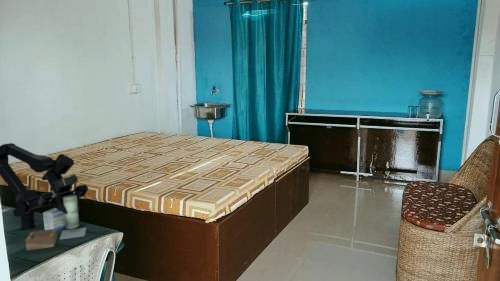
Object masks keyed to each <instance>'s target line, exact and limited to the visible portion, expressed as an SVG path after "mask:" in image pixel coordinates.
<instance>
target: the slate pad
mask: <svg viewBox="0 0 500 281" xmlns="http://www.w3.org/2000/svg"><path fill="white" fill-rule="evenodd" d="M86 231H87V227H81V228H80V227H77V228H73V229H65V230H62V232H61V234H60V235H59V236H60V237H59V240H66V239H73V238H74V239H75V238H80V237H85V235H86V233H87V232H86Z"/></svg>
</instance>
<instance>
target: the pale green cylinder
mask: <svg viewBox="0 0 500 281" xmlns="http://www.w3.org/2000/svg"><path fill="white" fill-rule="evenodd" d="M62 201H63V202H62V203H63V205H64V207H65V208H66V210H67V214H65V224H66V226H65V229H66V230H71V229H78V228H80V215H79V210H78V204H77V196H76V195H69V196H65V197H63V198H62Z"/></svg>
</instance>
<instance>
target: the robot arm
mask: <svg viewBox="0 0 500 281" xmlns="http://www.w3.org/2000/svg"><path fill="white" fill-rule="evenodd" d="M9 156H10V157H13V158H15V159H17V160H18V161H21V162H23V163H25V164H27V165H28V166H29V168H30V169H31V170H33V171H34V172H36V173H39V174H40V173H43V176H41V180H42V181H47V183H48V184H49V187H50V188H49V190H50V191H48V192H43V193H40V194H41V195H38V193H37V191H36V190H35V189H32V190H29V189H28V188H27V187H26V186H25V184H24V183H23V182H22V180H21V179H20V178H19V176H18V175H17V173H16V172H15V171H14V169H13V168H12V167H11V165H10V164H9ZM74 161H75V160H74V159H73V158H72V157H70V156H67V155H65V154H64V153H61V154H59V155H58V156H57V158H56V159H53V158H52V157H50V156H47V155H42V154H41V155H40V154H35V153H33V152H31V151H30V150H26V149H25V148H23V147H20V146H18V145H16V144H15V143H13V142H9V143H3V144H2V145H0V177H1V178H2V179H3V181H4V182H5V184H7V186H8V188H10V190H11V192H12V193H13V195H14V196H15V204H16V207H15V209H13V211H12V213H13V216H14V217H19V225H20V226H19V227H18V229H17V230H18V231H22V230H29V229H30V230H31V229H36V228H37V226H38V225H39V222H36V214H35V213H36V212H38V211H39V210H40V208H42V207H46V206H49V207H52V208H56V209H58V210H60V211H61V212H63V213H65V214H67V210H66V208H65V207H64V203H63V202H62V201H63V200H62V199H63V197H65V196H69V195H76V196H77V204H78V211H80V210H81V203H80V198H83V197H85V196H86V194H87V192H88V190H89V186H88V185H87V184H85V183H84V184H80V185H76V187H75V188H74V189H73V185H75V184H76V183H78V182H79V179H78V176H77V175H76V174H72V175H70V176H68V177H64V176H63V175H65V174H67V173H68V172H69V171H70V169H71V168H72V167H73V166H74V164H75V162H74ZM44 172H45V173H44ZM71 189H73V190H71Z"/></svg>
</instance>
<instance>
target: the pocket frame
mask: <svg viewBox="0 0 500 281" xmlns="http://www.w3.org/2000/svg"><path fill="white" fill-rule="evenodd" d="M57 240H58V231H57V229H50V230H45V229H44V230H37V231H31V232H30V233H29V234H28V235H27V237H26V239H25V240H24V241H25V248H26V251H34V250H40V249H47V248H54V246H55V244H56V242H57Z"/></svg>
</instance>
